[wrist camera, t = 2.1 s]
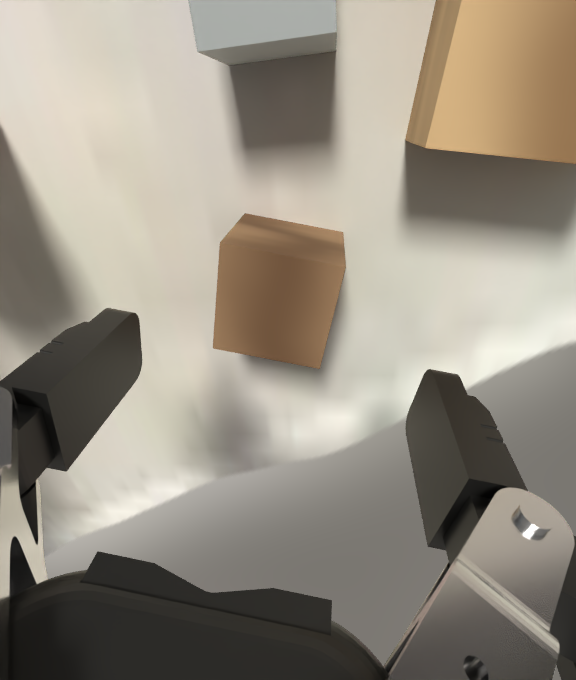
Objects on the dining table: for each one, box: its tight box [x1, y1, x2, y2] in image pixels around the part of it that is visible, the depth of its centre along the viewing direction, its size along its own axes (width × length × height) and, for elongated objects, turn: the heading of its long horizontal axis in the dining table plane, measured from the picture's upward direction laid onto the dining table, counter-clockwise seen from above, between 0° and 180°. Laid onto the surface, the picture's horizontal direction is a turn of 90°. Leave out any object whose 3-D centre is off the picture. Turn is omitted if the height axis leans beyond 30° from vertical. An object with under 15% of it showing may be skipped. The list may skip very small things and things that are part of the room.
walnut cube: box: [213, 214, 346, 369], centre depth 16 cm, size 4×4×4 cm
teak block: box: [405, 0, 576, 164], centre depth 12 cm, size 7×7×4 cm
